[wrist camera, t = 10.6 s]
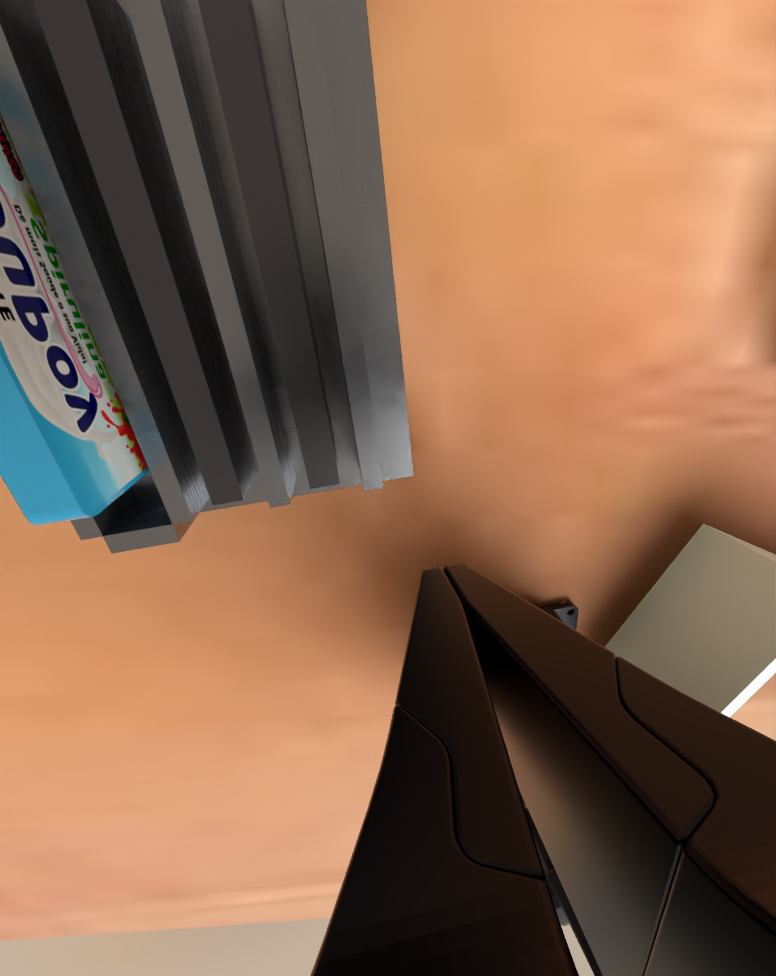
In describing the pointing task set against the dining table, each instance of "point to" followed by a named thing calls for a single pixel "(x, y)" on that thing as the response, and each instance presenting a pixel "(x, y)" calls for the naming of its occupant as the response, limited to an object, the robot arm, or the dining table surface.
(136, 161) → the rack
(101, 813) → the dining table surface
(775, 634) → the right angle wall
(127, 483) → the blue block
